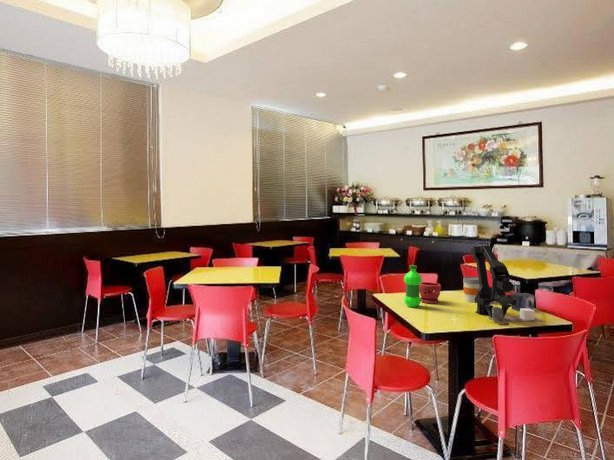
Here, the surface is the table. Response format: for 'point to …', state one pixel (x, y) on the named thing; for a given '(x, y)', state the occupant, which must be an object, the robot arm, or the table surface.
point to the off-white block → (527, 314)
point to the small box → (523, 301)
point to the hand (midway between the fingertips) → (497, 317)
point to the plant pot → (429, 292)
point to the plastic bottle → (412, 287)
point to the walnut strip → (507, 317)
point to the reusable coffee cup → (470, 288)
